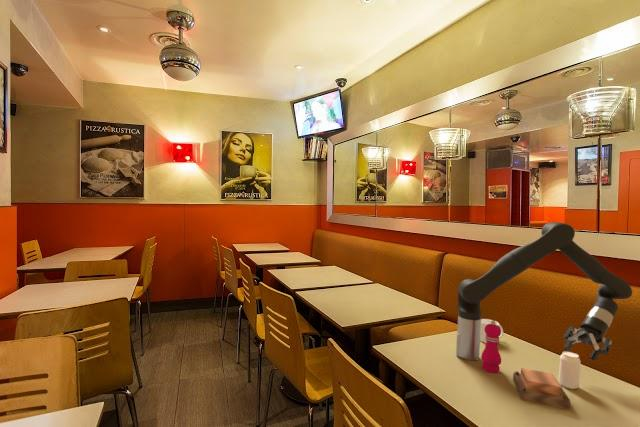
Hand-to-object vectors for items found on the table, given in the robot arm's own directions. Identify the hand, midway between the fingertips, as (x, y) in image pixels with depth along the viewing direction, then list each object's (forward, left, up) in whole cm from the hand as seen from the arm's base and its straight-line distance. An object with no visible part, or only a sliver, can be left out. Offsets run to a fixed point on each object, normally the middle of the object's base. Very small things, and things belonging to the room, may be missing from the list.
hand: (578, 355), depth 130 cm
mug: (-26, +32, -11) cm, 43 cm away
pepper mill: (-30, -2, -11) cm, 32 cm away
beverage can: (-4, -4, -11) cm, 12 cm away
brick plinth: (-16, -15, -11) cm, 24 cm away
